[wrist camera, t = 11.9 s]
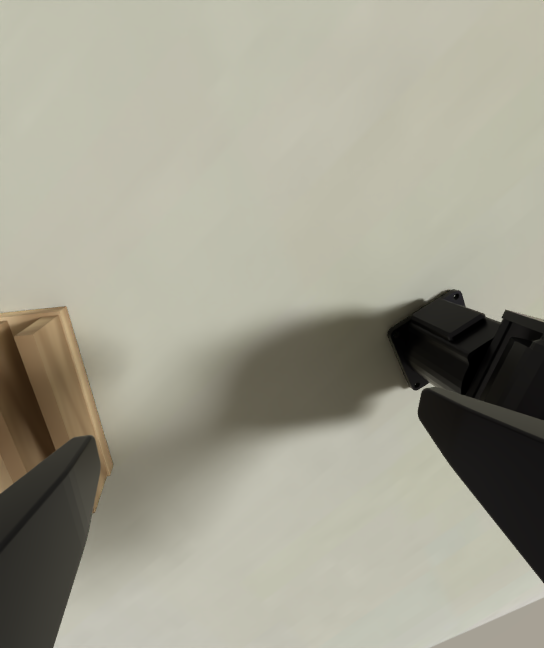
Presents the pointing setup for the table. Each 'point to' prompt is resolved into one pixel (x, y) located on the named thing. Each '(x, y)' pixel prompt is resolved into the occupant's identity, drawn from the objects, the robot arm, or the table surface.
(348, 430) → the table surface
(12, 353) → the rack
